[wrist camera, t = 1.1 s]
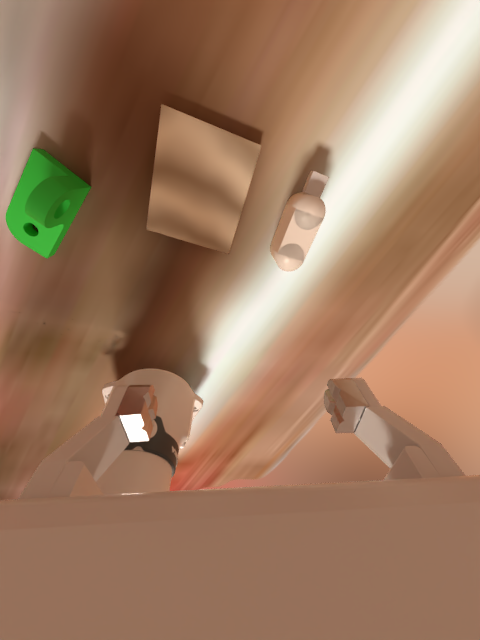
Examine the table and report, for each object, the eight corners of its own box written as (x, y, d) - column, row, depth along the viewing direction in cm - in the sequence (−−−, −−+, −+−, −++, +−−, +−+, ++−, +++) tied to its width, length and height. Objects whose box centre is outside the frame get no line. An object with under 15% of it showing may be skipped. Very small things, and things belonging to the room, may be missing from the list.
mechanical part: (43, 149, 30) (-8, 144, 23) (91, 186, 32) (57, 192, 25) (10, 226, 34) (-42, 240, 27) (54, 254, 36) (17, 274, 30)
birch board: (228, 251, 38) (228, 254, 37) (148, 227, 35) (146, 229, 34) (259, 146, 31) (261, 145, 30) (164, 106, 28) (161, 103, 27)
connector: (289, 263, 40) (297, 274, 35) (266, 256, 39) (271, 267, 34) (326, 178, 33) (341, 180, 29) (300, 168, 33) (312, 168, 28)
